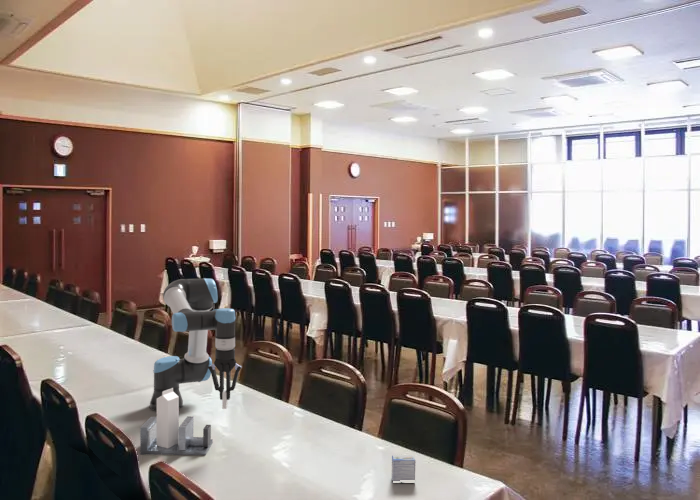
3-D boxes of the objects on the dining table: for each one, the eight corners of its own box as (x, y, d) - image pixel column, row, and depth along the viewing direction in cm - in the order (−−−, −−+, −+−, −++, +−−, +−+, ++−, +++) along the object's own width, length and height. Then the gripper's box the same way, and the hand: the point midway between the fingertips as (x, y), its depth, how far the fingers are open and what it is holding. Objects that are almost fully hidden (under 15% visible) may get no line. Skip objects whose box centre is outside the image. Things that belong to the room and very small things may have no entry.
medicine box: (413, 478, 203) (413, 454, 203) (415, 484, 199) (415, 459, 198) (391, 478, 203) (391, 454, 203) (392, 484, 199) (393, 459, 198)
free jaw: (185, 438, 231) (185, 416, 231) (212, 438, 232) (212, 416, 231) (177, 450, 219) (177, 427, 219) (205, 450, 220) (205, 427, 219)
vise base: (150, 442, 231) (150, 416, 231) (212, 442, 232) (212, 417, 231) (140, 454, 219) (140, 427, 219) (205, 455, 220) (205, 428, 219)
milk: (156, 445, 224) (155, 390, 223) (167, 440, 230) (167, 386, 228) (168, 448, 221) (167, 392, 220) (179, 443, 227) (178, 388, 226)
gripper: (206, 350, 220) (206, 410, 221) (240, 350, 220) (239, 410, 221) (210, 346, 227) (210, 404, 228) (243, 346, 227) (243, 404, 228)
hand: (224, 407), depth 225 cm, fingers closed
